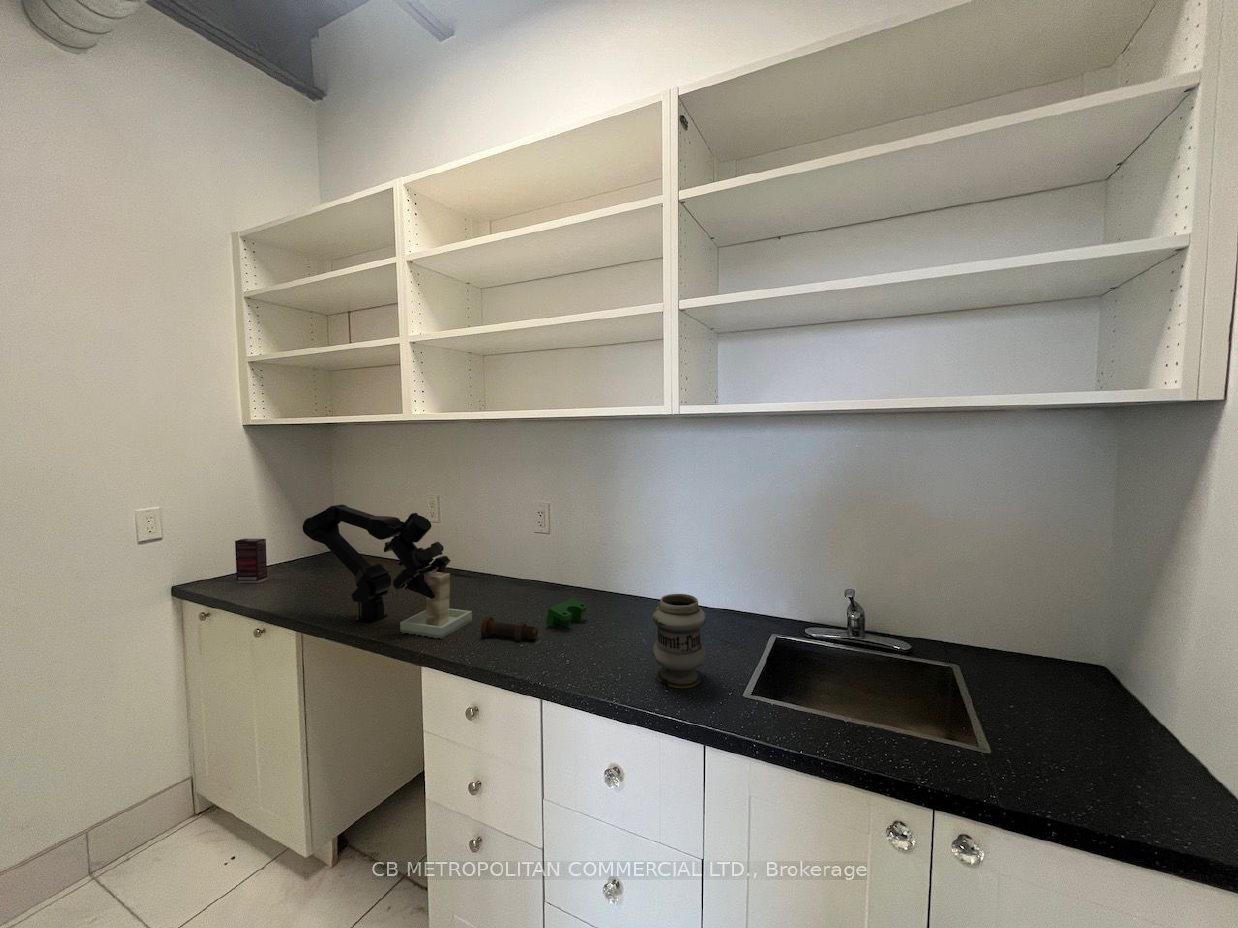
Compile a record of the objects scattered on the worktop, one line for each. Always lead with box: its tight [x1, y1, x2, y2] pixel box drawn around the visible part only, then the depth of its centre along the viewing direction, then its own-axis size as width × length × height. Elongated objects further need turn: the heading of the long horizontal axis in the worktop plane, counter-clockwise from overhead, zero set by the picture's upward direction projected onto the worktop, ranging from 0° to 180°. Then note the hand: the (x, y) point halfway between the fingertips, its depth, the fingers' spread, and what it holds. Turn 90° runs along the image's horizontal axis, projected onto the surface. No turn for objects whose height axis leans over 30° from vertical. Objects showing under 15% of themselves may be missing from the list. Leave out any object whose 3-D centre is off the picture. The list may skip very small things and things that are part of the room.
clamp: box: [545, 597, 588, 630], centre depth 142 cm, size 12×6×9 cm, turn 141°
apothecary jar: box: [651, 593, 707, 689], centre depth 110 cm, size 12×12×18 cm
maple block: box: [425, 572, 451, 626], centre depth 139 cm, size 4×4×14 cm
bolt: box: [480, 615, 539, 642], centre depth 132 cm, size 6×5×15 cm
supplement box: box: [234, 538, 268, 584], centre depth 183 cm, size 9×5×16 cm, turn 88°
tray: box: [399, 607, 473, 640], centre depth 139 cm, size 14×14×3 cm
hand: (441, 594), depth 138 cm, fingers open, 6 cm apart
